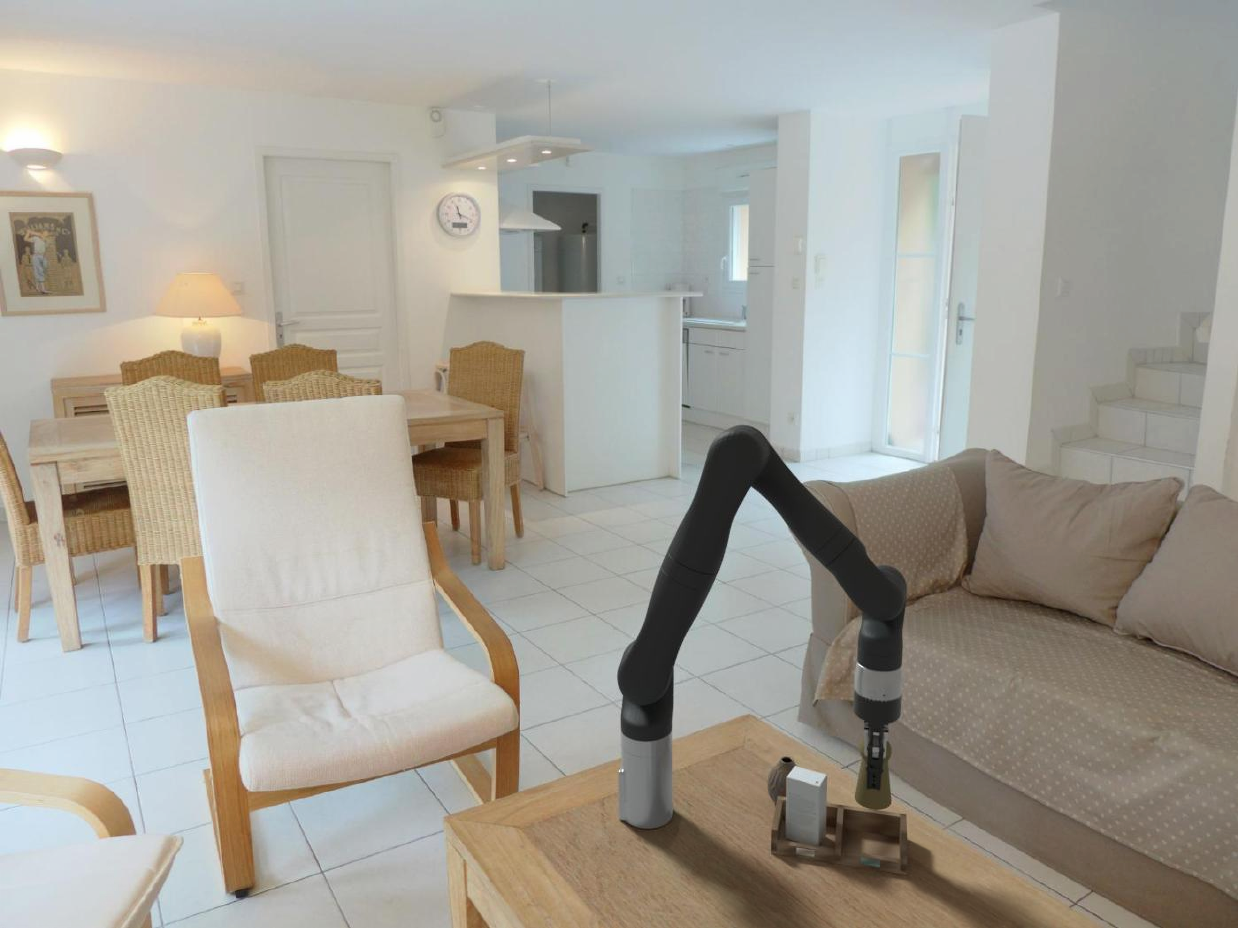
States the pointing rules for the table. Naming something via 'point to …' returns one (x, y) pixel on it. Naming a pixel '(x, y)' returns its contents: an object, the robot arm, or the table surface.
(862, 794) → the cork
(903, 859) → the slot rack
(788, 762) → the vase
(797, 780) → the skincare box
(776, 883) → the table surface
